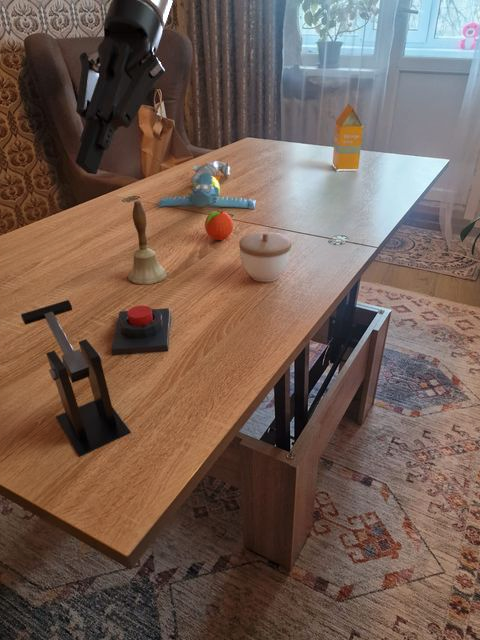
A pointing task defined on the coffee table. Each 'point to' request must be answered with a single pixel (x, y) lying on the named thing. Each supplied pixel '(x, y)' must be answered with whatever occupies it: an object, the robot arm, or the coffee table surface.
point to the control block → (142, 334)
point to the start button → (140, 315)
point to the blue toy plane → (207, 195)
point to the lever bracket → (87, 405)
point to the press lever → (61, 338)
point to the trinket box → (265, 255)
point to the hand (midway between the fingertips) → (85, 168)
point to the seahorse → (211, 169)
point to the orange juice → (347, 140)
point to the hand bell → (144, 254)
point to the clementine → (219, 225)
